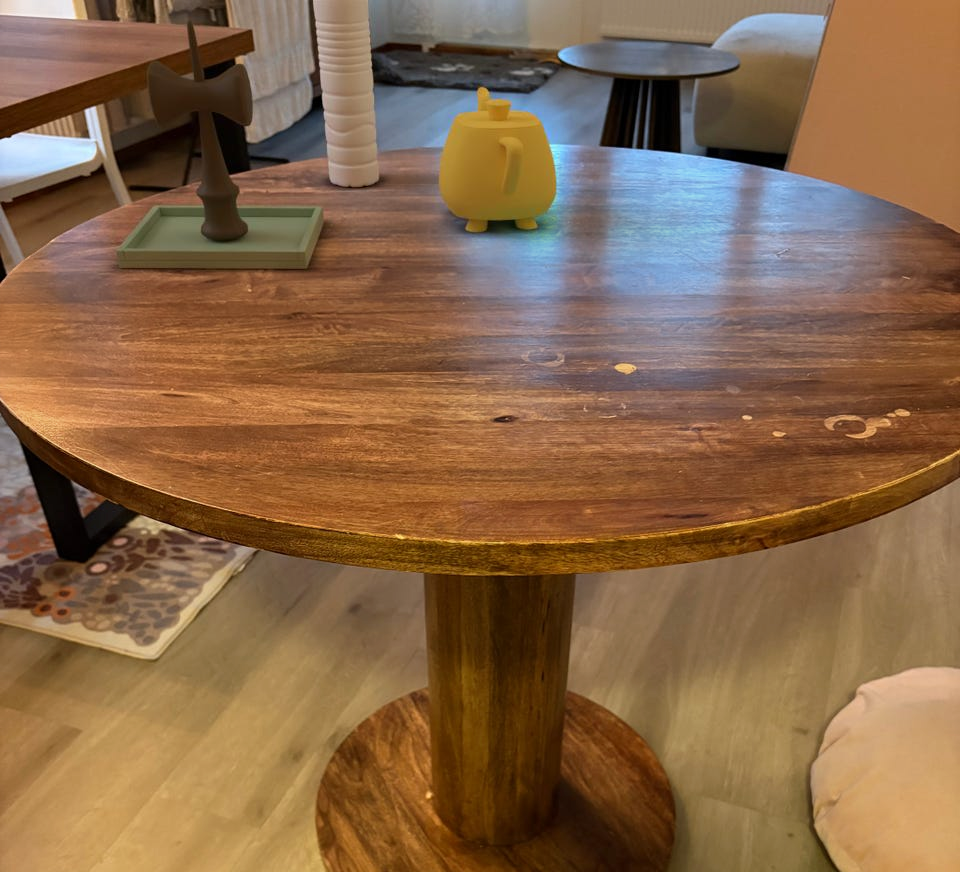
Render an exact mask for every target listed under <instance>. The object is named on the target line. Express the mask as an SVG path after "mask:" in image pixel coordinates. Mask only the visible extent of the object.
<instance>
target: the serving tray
mask: <svg viewBox="0 0 960 872" xmlns="http://www.w3.org/2000/svg"><path fill="white" fill-rule="evenodd" d="M237 210H238V214H239V216H240V218H241V219H242V220H243V221H244V222H245V223H247V225H248V232H247V233H246V234H245V235H244V236H242V237H239V238H236V239H232V240H213V239H209V238H206V237H205V236H203V235H202V234H201V226H202V224H203V223H204V220H205V210H204V205H179V204H177V205H172V204H171V205H170V204H169V205H164V204H163V205H161V204H160V205H159V204H155V205H153V206H152V207H151V208H150V209H149V211H148V212H147V213H146V214H145V215H144V217H143V218H142V219H141V220H140V222H138V224H137V225H136V226H135V227H134V229H133V230H132V231H131V232H130V233H129V234H128V235H127V237H126V238H125V239H124V240H123V242H121V243H120V245H119V246H118V247H117V248H116V250H115V253H116V254H115V255H116V258H117V263H118V267H119V268H120V269H225V270H226V269H230V270H231V269H234V270H235V269H237V270H238V269H241V270H242V269H243V270H244V269H245V270H246V269H249V270H250V269H251V270H254V269H255V270H256V269H259V270H262V269H263V270H265V269H266V270H270V269H271V270H307V269H308V268H309V264H310V261H311V259H312V256H313V253H314V251H315V248H316V246H317V242H318V240H319V238H320V235H321V232H322V229H323V227H324V224H325V216H324V207H323V205H237Z"/></svg>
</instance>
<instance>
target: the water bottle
mask: <svg viewBox="0 0 960 872" xmlns="http://www.w3.org/2000/svg"><path fill="white" fill-rule="evenodd" d="M312 4H313V12H314V19H315V28H316V30H315V33H316V43H317V51H318V60H319V61H318V65H319V68H320V69H319V75H320V76H319V78H320V87H321V90H322V93H321V100H322V107H323V109H324V111H323V119H324V121H325V123H324V132H325V139H326V142H327V143H326V153H327V159H328V162H327V163H328V165H327V167H328V177H329V181H330V182H331V184H333V185H337V186H339V187H345V188H348V187H352V188H361V187H365V186H366V187H368V186H372V185H374V184H375V183H377V182H379V179H380V170H379V160H378V143H377V128H376V112H375V109H374V108H375V94H374V91H373V90H374V75H373V69H372V67H373V63H372V53H371V52H372V51H371V50H372V46H371V37H370V36H371V30H370V21H369V19H370V7H369V0H312Z"/></svg>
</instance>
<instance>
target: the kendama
mask: <svg viewBox="0 0 960 872" xmlns="http://www.w3.org/2000/svg"><path fill="white" fill-rule="evenodd" d="M186 30H187V32H186V33H187V38H188V46H189V54H190V61H191V68H192V73H193V79H189V78H186V77H184V76H181V75H180V74H178V73H176V72H175V71H174V70H172V69H171V68H169V67H168V66H166V65H164V63H161V62H160V61H159V60H150V63H149V65H148V67H147V73H146V82H147V92H148V99H149V105H150V108H151V111H152V115H153V118H154V120H155V122H156V124H157V126H158V127H159V129H160V130H167V129H169V128H171V127H173V126H174V125H175V124H176V123H177V122H178V121H180V120H181V119H182V118H183V117H185V116H186V115H188V114H190V113H192V112H198V113H197V114H198V123H199V133H200V146H201V149H200V150H201V181H200V184H199V186H198V187H197V188H196V190H195V193H196V196H197V197H198V198H199V199H200V200H201V202H202V206H204V210H205V220H204V223H203V224H202V226H201V234H202V235H203V236H205V237H206V238H209V239H213V240H232V239H236V238H239V237H242V236H244V235H245V234H246V233H247V232H248V225H247V223H245V222H244V221H243V220H242V219H241V218H240V216H239V214H238V210H237V206H238V205H237V199H238V196H239V194H240V193H241V191H240V187H239V186H238V185H237V184H236V183H235V182H234V181H233V180H232V178H231V176H230V174H229V171H228V168H227V165H226V162H225V159H224V156H223V152H222V148H221V145H220V142H219V138H218V135H217V130H216V127H215V122H214V117H213V114H212V112H213V113H217V114H220V115H222V116H224V117H226V118H228V119H230V120H231V121H233V122H235V123H236V124H238V125H240V126H241V127H246V128H247V127H250V126H251V124H252V122H253V117H254V115H253V113H254V105H253V104H254V102H253V101H254V100H253V93H252V86H251V81H250V78H249V73H248V71H247V67H246V66H245V64H244V63H237V64H234V65H233V66H231V67H229V68H228V69H227V70H226V71H224V72H222V73H221V74H219V75H218V76H216V77H213V78H209V79H205V76H204V71H203V65H202V61H201V60H202V59H201V55H200V50H199V45H198V41H197V35H196V30H195V27H194V24H193V22H192V21H191V19H188V20H187V21H186Z"/></svg>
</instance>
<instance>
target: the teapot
mask: <svg viewBox="0 0 960 872" xmlns="http://www.w3.org/2000/svg"><path fill="white" fill-rule="evenodd" d="M476 92H477V93H476V94H477V109H476V111H467V112H466V111H465V112H460V113H458V114H457V115H456V116H455V117H454V118H453V121H452V124H451V126H450V128H449V131H448V134H447V137H446V139H445V143H444V146H443V149H442V153H441V156H440V157H441V158H440V162H439V163H440V164H439V172H438V173H439V174H438V188H439V189H438V190H439V192H440V195H441V197H442V199H443V201H444V203H445V204H446V206H447V208H448V209H449V211H450V212H451V213H452V214H453V215H454V216H456V217H459V218H462V219H466V220H468V221H467V223H466V226H465V231H467V232H471V233H483V232H486V231H487V229H488V224H489V223H488V222H489V221H509V220H514V222H515V227H516V228H518V229H519V230H535V229H537V228H538V224H537V222H536V220H535V218H534V217H539V216H542V215H544V214H546V213H547V212H548V211H549V209H550V208H551V206H552V205H553V202H554V201H555V198H556V196H557V183H558V182H557V172H556V165H555V161H554V160H555V159H554V156H553V152H552V148H551V146H550V142H549V139H548V136H547V133H546V131H545V128H544V125H543V123H542V121H541V119H539V118H538V117H537V115H535V114H534V113H531V112H530V111H526V110H525V111H523V110H511V107H512V101H510V100H508V99H504V98H503V99H501V98H495V99H491V95H490V92H489V90H488V89H487V88H486V87H483V86H480V87H478V88H477V91H476Z"/></svg>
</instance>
